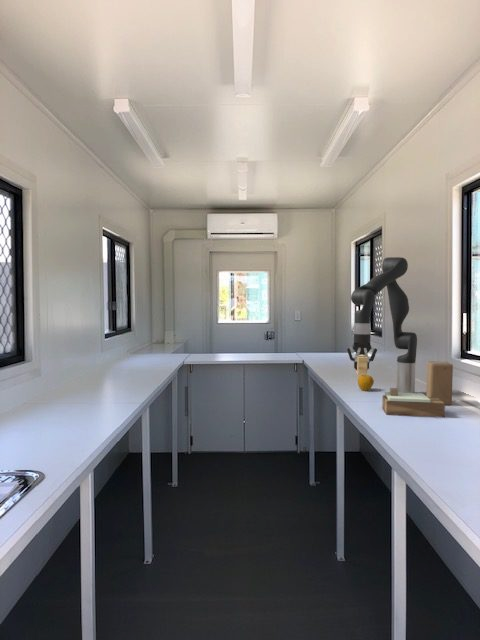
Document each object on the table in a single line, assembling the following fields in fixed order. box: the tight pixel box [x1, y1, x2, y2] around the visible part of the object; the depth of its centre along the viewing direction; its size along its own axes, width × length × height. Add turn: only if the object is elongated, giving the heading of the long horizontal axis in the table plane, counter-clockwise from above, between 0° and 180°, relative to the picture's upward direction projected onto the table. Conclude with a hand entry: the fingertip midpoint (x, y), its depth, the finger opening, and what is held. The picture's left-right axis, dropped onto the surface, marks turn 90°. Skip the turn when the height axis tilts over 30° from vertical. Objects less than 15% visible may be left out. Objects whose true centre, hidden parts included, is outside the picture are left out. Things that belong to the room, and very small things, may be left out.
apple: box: [357, 374, 375, 392], centre depth 249 cm, size 8×8×9 cm
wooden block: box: [425, 360, 454, 406], centre depth 219 cm, size 10×10×20 cm
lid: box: [384, 387, 430, 402], centre depth 201 cm, size 13×17×4 cm
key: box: [355, 355, 368, 376], centre depth 207 cm, size 9×4×8 cm, turn 171°
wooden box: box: [381, 394, 446, 418], centre depth 200 cm, size 12×24×6 cm, turn 81°
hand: (361, 369), depth 207 cm, fingers closed on key, 4 cm apart
